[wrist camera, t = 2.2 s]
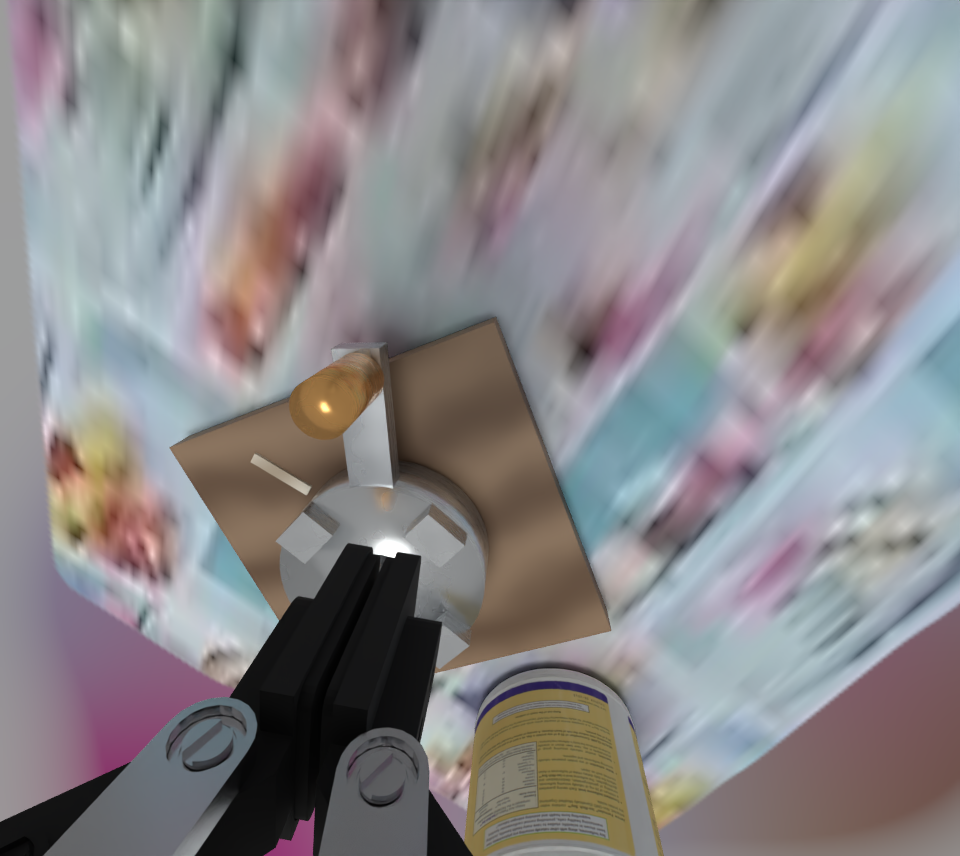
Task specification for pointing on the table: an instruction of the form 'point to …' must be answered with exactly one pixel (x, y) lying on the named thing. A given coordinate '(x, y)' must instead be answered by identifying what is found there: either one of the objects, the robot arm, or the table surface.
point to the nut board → (444, 449)
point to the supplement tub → (558, 772)
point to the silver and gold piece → (382, 500)
